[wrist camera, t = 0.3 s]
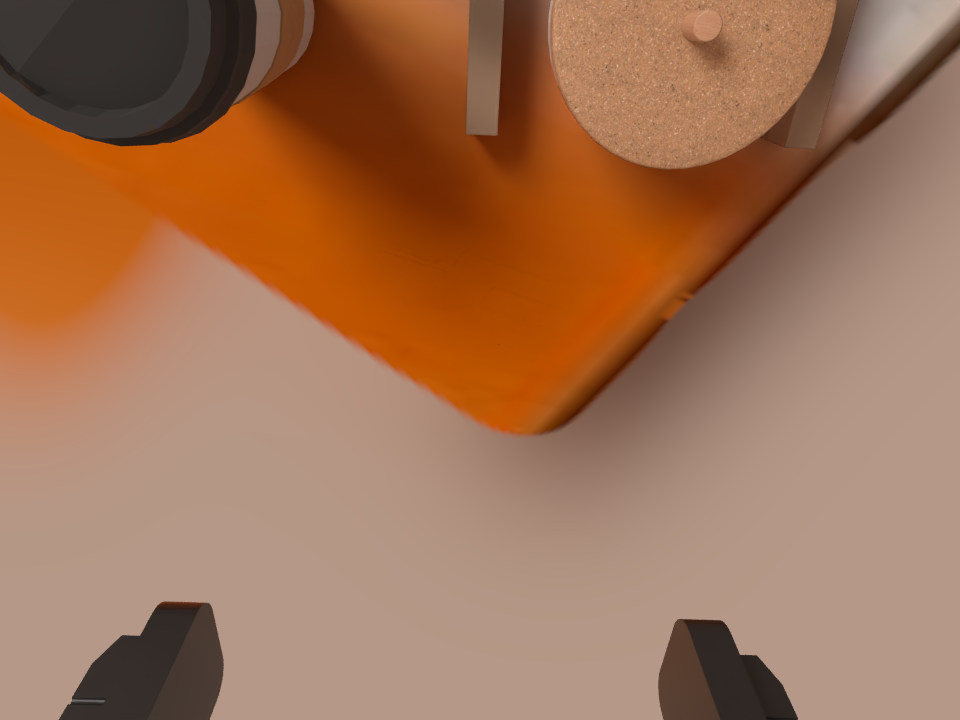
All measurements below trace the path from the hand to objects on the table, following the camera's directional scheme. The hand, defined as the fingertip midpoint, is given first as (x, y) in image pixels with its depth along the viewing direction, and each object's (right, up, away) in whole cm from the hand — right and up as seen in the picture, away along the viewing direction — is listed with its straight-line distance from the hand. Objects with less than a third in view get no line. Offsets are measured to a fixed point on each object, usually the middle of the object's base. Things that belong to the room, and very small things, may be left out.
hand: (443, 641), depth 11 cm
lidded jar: (+9, +21, +19) cm, 30 cm away
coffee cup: (-10, +22, +19) cm, 31 cm away
